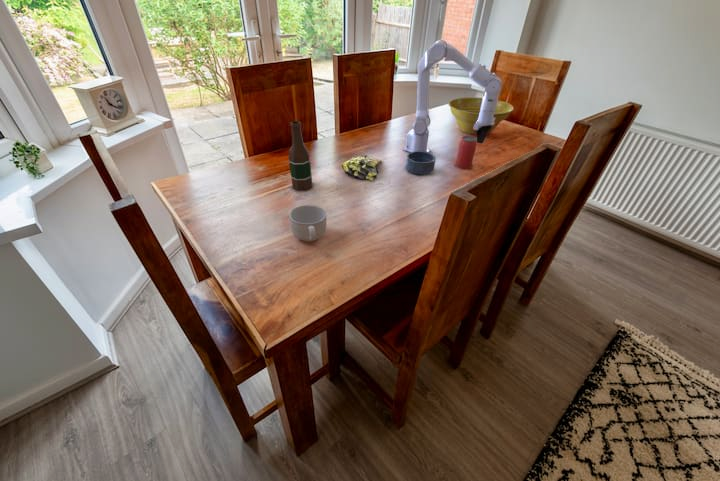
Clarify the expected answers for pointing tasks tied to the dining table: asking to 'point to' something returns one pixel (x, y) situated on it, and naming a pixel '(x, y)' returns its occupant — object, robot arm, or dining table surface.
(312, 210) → the teacup
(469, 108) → the planter bowl
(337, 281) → the dining table surface
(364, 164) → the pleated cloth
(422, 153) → the bowl
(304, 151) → the beer bottle
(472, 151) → the beer can
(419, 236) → the dining table surface
